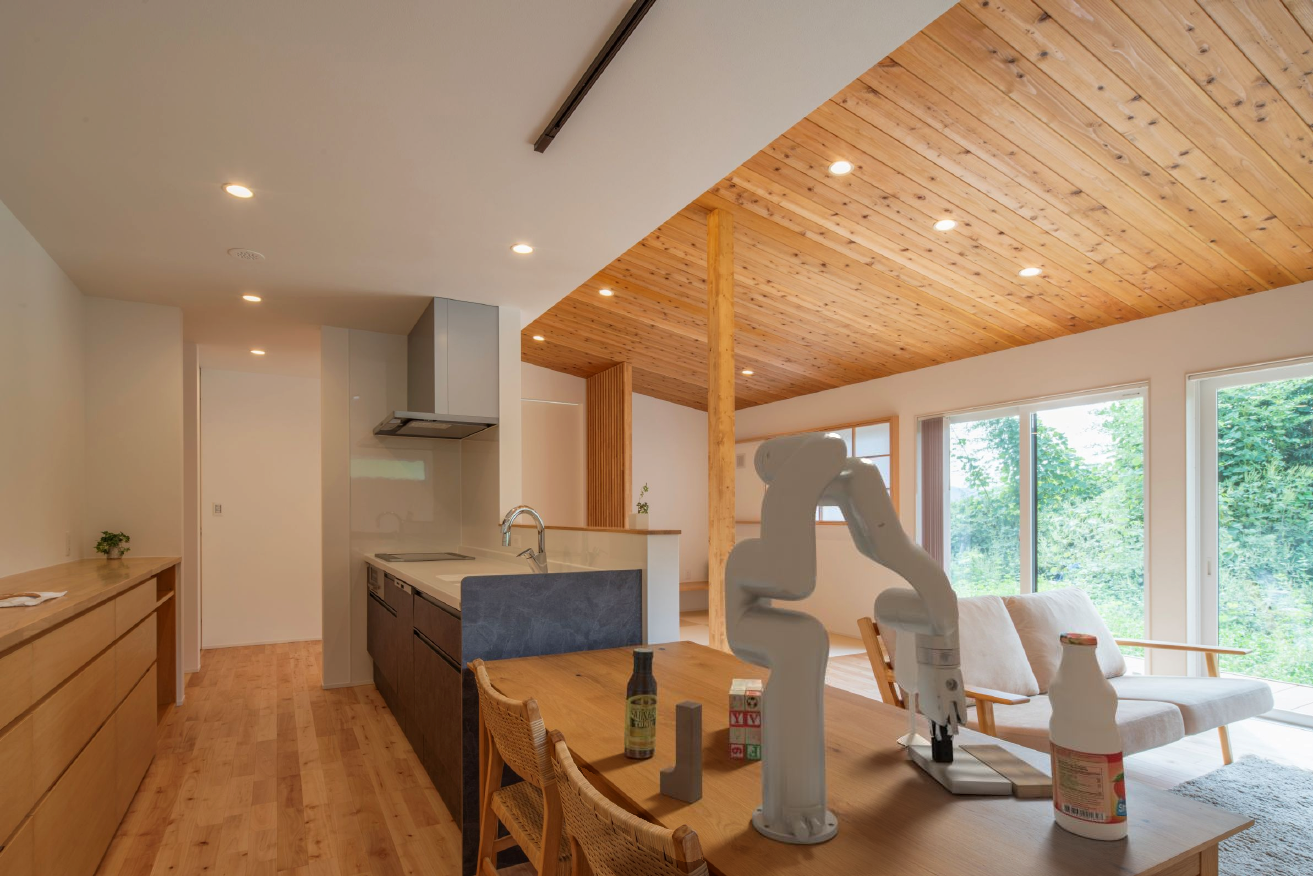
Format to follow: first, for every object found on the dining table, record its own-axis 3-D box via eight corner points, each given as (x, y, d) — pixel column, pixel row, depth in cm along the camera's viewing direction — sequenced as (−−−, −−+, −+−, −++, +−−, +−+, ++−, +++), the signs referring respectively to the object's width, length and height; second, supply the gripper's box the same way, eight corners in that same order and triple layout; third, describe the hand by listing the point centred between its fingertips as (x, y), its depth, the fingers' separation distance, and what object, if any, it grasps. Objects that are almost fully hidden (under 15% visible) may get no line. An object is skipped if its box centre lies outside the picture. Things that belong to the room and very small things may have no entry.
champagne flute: (900, 735, 146) (895, 619, 149) (933, 741, 143) (928, 622, 145) (893, 744, 140) (888, 623, 143) (928, 750, 137) (923, 626, 139)
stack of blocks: (735, 725, 153) (734, 668, 155) (764, 727, 152) (763, 669, 154) (729, 759, 132) (728, 692, 134) (762, 761, 131) (761, 694, 133)
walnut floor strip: (1063, 797, 114) (1062, 784, 115) (1018, 798, 114) (1018, 785, 114) (997, 755, 134) (996, 744, 134) (959, 755, 134) (958, 745, 134)
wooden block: (702, 797, 114) (702, 703, 116) (691, 804, 111) (691, 707, 113) (670, 788, 118) (670, 697, 120) (659, 794, 115) (659, 701, 117)
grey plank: (1011, 795, 115) (1011, 782, 115) (953, 793, 114) (953, 780, 115) (958, 757, 133) (958, 746, 133) (907, 755, 132) (907, 744, 132)
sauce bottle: (627, 762, 130) (628, 653, 133) (620, 751, 136) (621, 647, 139) (661, 758, 132) (661, 651, 134) (652, 748, 138) (652, 646, 140)
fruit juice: (1044, 812, 109) (1033, 629, 112) (1109, 816, 107) (1096, 631, 110) (1069, 839, 99) (1057, 640, 102) (1141, 844, 98) (1127, 641, 101)
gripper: (979, 664, 119) (985, 776, 117) (938, 647, 134) (943, 746, 132) (936, 665, 118) (942, 778, 116) (900, 648, 133) (904, 747, 131)
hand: (942, 761), depth 124 cm, fingers closed
